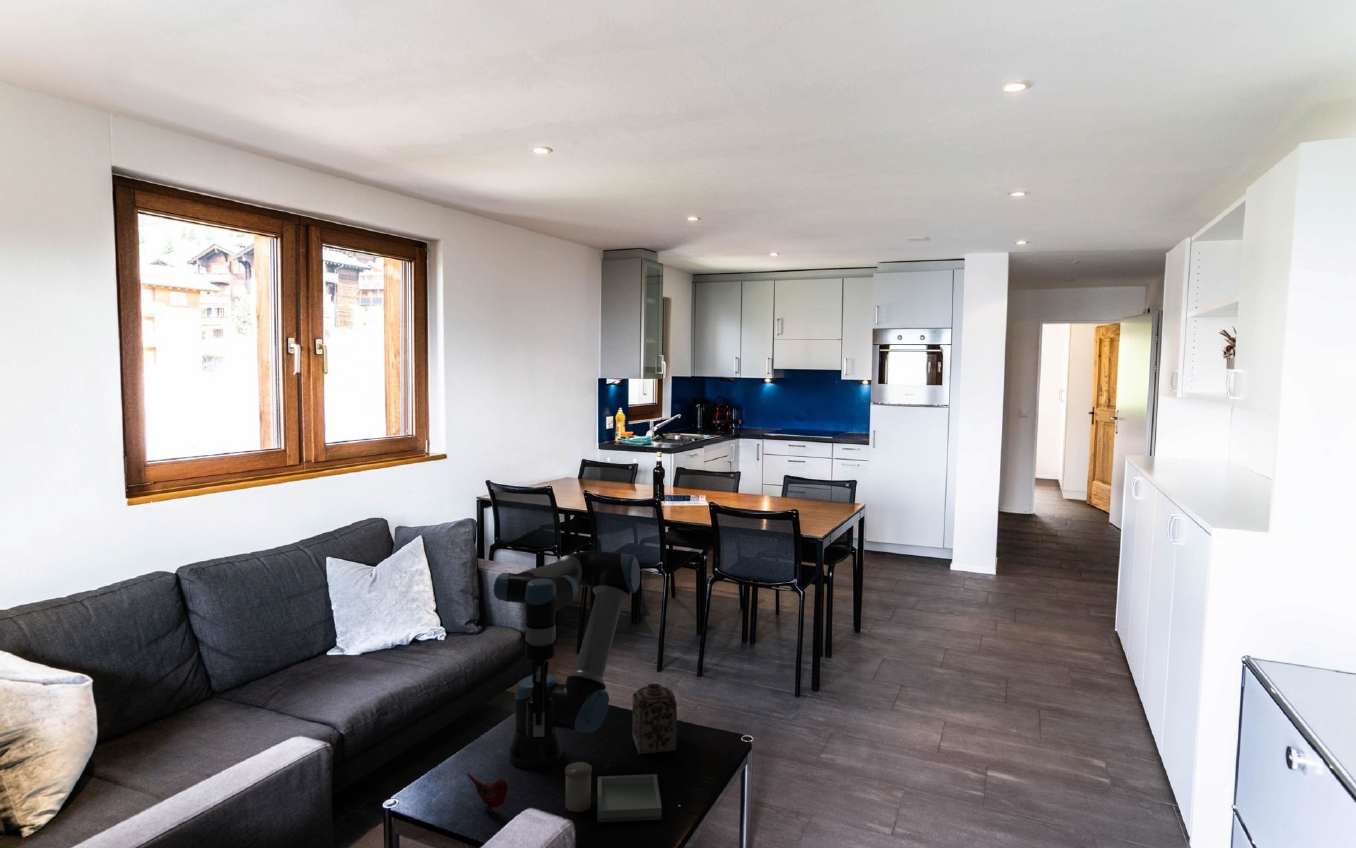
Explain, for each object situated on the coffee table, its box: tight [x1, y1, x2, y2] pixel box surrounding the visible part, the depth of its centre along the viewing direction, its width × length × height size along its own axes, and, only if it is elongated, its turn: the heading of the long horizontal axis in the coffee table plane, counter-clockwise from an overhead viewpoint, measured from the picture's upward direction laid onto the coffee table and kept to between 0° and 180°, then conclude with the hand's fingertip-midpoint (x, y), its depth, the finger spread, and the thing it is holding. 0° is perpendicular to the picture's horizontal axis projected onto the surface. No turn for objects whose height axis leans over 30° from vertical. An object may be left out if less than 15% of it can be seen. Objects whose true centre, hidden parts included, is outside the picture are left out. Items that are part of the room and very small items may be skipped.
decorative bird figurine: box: [466, 773, 509, 816], centre depth 189 cm, size 3×18×10 cm, turn 49°
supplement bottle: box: [526, 686, 554, 740], centre depth 190 cm, size 7×7×12 cm
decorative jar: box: [631, 683, 678, 755], centre depth 225 cm, size 12×12×18 cm
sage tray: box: [597, 773, 663, 823], centre depth 193 cm, size 16×16×3 cm
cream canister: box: [564, 761, 593, 813], centre depth 192 cm, size 7×7×10 cm
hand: (539, 728), depth 190 cm, fingers closed on supplement bottle, 7 cm apart
